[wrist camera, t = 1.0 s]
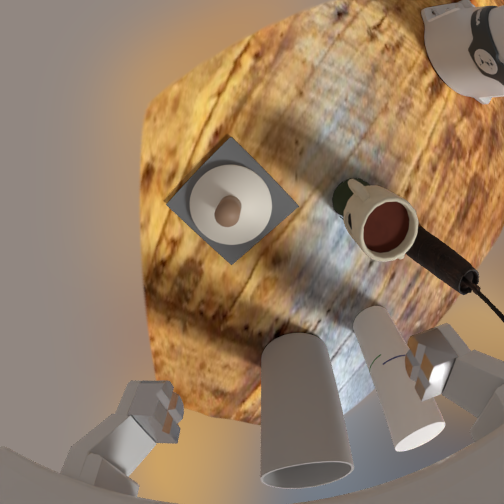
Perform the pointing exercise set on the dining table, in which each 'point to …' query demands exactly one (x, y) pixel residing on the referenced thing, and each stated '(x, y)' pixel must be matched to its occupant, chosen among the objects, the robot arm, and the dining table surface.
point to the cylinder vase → (301, 415)
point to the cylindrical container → (395, 381)
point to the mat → (238, 156)
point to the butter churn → (447, 265)
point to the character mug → (376, 219)
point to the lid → (230, 204)
